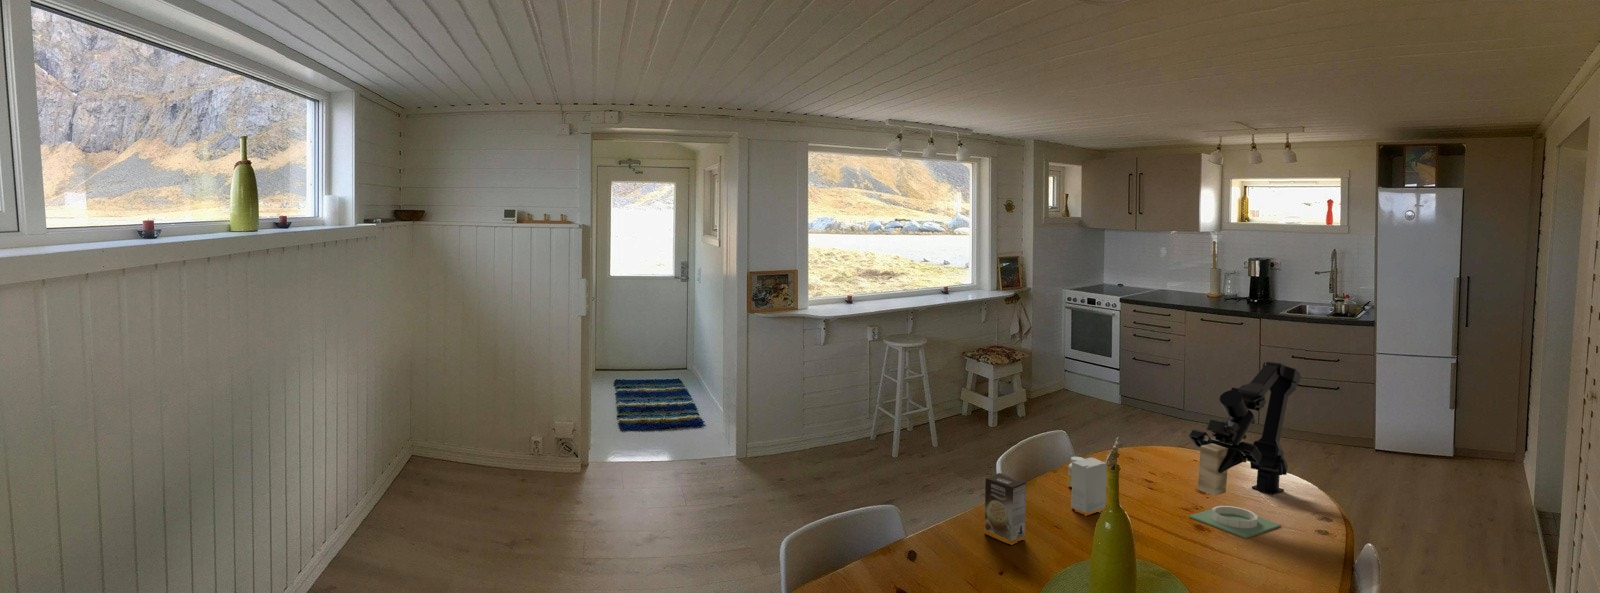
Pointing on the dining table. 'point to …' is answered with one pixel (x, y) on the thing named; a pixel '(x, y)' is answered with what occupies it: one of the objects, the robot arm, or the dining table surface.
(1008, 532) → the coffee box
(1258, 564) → the dining table surface
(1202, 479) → the oak block
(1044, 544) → the dining table surface
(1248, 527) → the putting green
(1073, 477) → the skincare box
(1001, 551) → the dining table surface
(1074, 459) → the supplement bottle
